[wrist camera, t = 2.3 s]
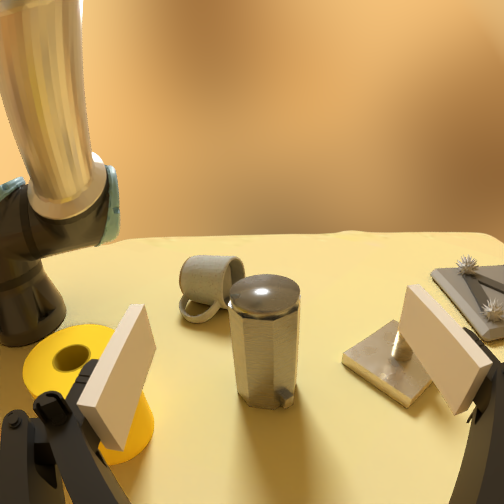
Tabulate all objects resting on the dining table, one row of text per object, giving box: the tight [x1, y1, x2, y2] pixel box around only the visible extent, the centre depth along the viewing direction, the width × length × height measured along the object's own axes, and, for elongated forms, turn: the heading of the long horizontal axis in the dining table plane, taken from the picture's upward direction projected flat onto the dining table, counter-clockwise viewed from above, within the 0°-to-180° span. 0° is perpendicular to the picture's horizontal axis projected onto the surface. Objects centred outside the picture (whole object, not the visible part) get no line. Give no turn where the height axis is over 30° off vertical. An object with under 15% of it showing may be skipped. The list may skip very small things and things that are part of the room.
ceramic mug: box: [179, 255, 245, 323], centre depth 44 cm, size 11×8×8 cm
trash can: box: [228, 274, 301, 410], centre depth 27 cm, size 8×6×12 cm
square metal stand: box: [341, 320, 433, 408], centre depth 29 cm, size 10×10×10 cm
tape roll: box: [22, 324, 154, 465], centre depth 22 cm, size 10×10×9 cm
